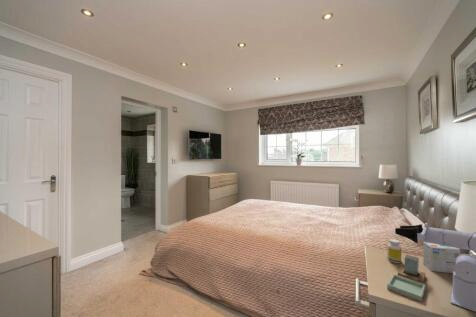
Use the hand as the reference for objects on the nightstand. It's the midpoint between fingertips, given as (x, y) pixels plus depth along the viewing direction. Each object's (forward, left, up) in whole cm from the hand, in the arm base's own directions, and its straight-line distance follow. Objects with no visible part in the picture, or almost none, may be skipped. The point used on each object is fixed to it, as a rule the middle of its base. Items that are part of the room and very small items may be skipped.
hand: (397, 229), depth 88 cm
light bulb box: (-12, -23, -21) cm, 33 cm away
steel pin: (-4, -6, -21) cm, 22 cm away
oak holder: (-4, -6, -21) cm, 22 cm away
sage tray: (-4, +6, -21) cm, 22 cm away
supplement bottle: (+4, -17, -21) cm, 27 cm away
